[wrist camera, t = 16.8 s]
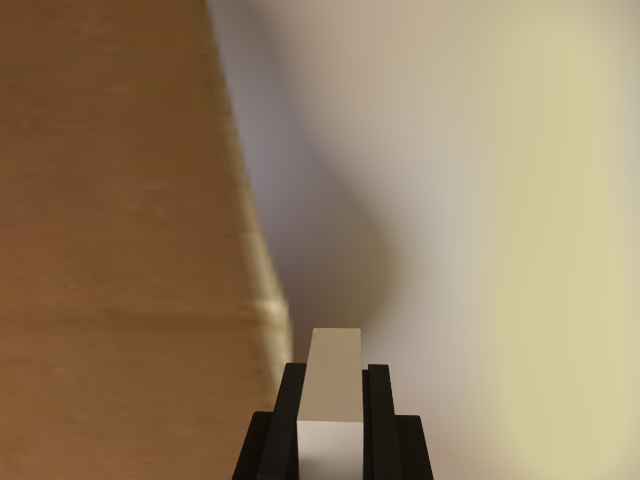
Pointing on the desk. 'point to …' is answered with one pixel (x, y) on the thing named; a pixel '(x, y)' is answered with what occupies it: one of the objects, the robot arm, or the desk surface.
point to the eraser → (332, 408)
